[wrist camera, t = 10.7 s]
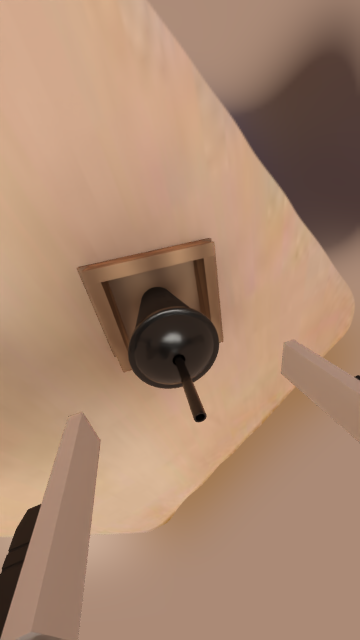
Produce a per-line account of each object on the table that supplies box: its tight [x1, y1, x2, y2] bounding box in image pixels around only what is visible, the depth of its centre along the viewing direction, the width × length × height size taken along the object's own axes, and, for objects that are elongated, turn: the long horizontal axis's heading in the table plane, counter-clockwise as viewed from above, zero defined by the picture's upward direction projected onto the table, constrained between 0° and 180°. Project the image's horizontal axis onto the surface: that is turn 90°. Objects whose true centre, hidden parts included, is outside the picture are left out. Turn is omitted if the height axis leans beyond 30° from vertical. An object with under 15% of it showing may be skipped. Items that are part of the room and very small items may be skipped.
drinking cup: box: [128, 287, 219, 422], centre depth 19 cm, size 8×8×20 cm
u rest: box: [77, 238, 223, 372], centre depth 26 cm, size 18×14×6 cm
